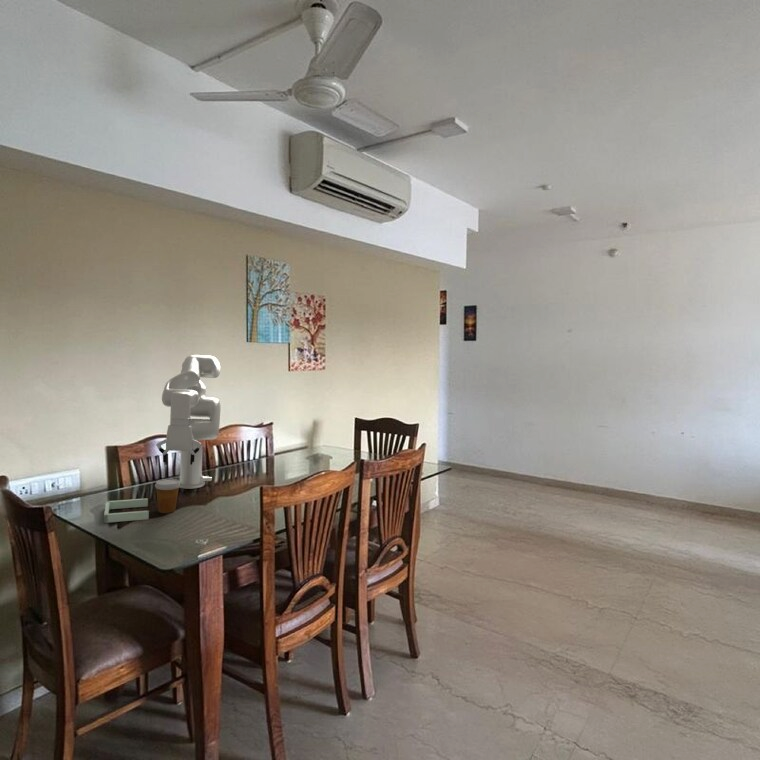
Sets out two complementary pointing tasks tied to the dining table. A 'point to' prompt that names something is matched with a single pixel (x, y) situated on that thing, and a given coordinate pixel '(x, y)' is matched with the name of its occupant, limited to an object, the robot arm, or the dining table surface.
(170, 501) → the disposable coffee cup
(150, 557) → the dining table surface
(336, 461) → the dining table surface
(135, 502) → the bay
